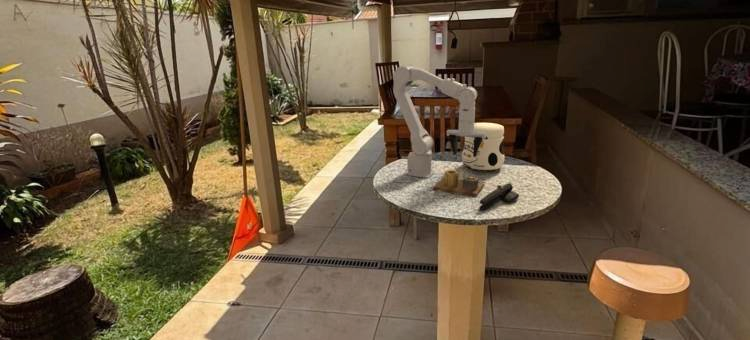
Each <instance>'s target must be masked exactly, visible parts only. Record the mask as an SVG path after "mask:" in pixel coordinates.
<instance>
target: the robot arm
mask: <svg viewBox="0 0 750 340" xmlns="http://www.w3.org/2000/svg"><path fill="white" fill-rule="evenodd" d="M392 79H393V89H392V91H393V96H394V98H395V99H396V102H397V104H398V106H399V109H400V112H401V113H402V115H403V116H402V117H403V118H404V120H405V123H406V125H407V128H408V131H409V132H410V142H411V150H412V151H410V152H409V153H408V154H407V163H406V165H407V167H406V168H407V169H406V170H407V171H406V172H407V173H406V176H412V177H419V178H426V179H429V178H430V177H432V176H433V174H435V173H436V172H435V170H432V165H433V164H432V160H433V158H432V157H433V153H432V148H433V147H434V145H435V143H434V139H433V137H432V136H431V135H430V134H429V132H428V131H427V130H426V128H424V126H423V125H422V123H421V119H420V118H419V115H418V113H417V110H416V108H415V105H414V103H413V101H412V99H411V96H410V94H409V90H410V88H411V85H412V84H413V83H414V82H415V81H422V82H425V83H427V84H430V85H432V86H434V87H436V88H439V90H440V92H441V93H442V94H444V95H446V96H449V97H451V98H453V99H455V100H458V102H459V110H458V129H447V130H446V136H447V137H448V140H449V141H448V142H450V145H451V148H452V151H453V155H454V156H455V155H457V154H458V142H459V141H458V140H459V137H463V138H465V137H473V138H475V139H474V153H473V157H476V156H477V151H478V148H479V146H480V144H481V142H482V140H483V139H485V138H486V133H482V132H477V131H474V123H475V118H476V99H477V97H478V91H477V90H476V89H475V88H474V87H473V86H470V85H469V86H467V84H466V83H463V84H462V83H460V82H458V81H456V78H453V77H451V78H449V77H448V78H445V79H443V78H441V77H439V76H437V75H436V74H434V73H431V72H430V71H427V70H425V69H423V68H421V67H419V66H415V65H413V64H408V65H405V66H399V67H397V68H396V70H395V71H394V73H393V75H392Z"/></svg>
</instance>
